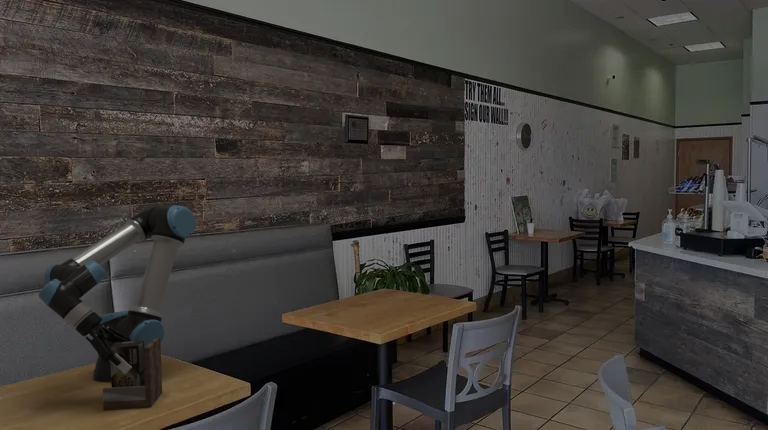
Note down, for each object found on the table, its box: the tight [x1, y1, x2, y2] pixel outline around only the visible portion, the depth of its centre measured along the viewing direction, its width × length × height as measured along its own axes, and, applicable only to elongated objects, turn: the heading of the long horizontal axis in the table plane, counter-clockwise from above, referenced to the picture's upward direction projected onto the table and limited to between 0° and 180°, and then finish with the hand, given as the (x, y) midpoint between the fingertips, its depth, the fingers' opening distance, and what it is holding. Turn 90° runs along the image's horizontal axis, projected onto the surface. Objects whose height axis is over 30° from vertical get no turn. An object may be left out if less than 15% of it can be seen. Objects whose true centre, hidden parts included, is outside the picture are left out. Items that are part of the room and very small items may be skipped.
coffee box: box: [110, 341, 145, 387], centre depth 193 cm, size 9×6×16 cm
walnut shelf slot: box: [102, 337, 163, 411], centre depth 194 cm, size 14×14×18 cm
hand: (135, 364), depth 194 cm, fingers open, 13 cm apart
